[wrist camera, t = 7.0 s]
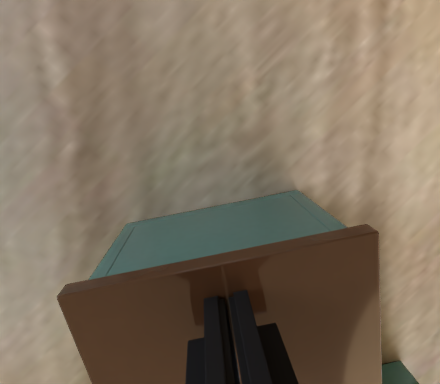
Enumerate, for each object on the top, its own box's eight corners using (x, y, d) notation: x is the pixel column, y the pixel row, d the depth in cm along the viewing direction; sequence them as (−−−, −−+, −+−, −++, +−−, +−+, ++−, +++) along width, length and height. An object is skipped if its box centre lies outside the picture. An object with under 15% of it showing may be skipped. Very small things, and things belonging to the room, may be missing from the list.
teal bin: (125, 223, 19) (75, 297, 11) (297, 189, 19) (363, 238, 11) (172, 381, 22) (159, 517, 15) (316, 351, 22) (374, 470, 15)
